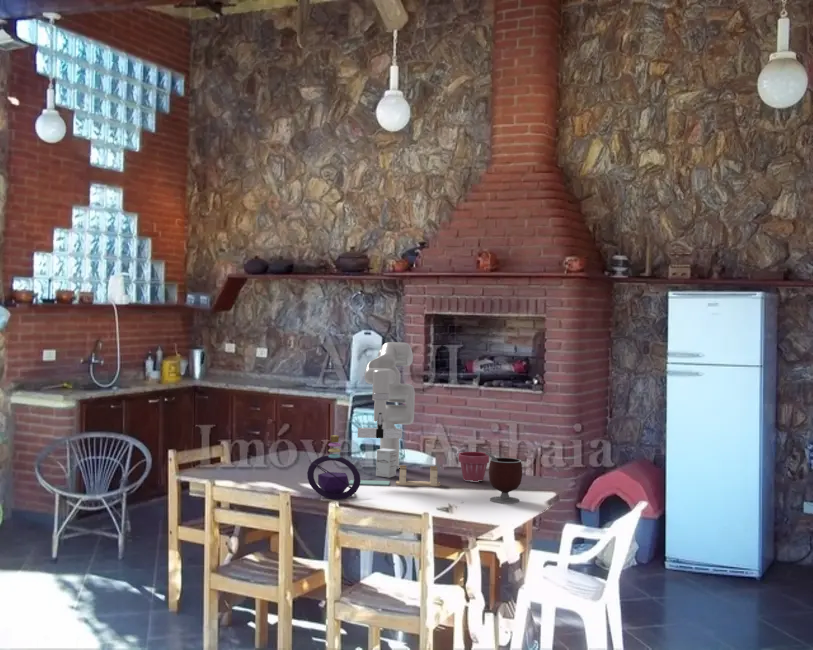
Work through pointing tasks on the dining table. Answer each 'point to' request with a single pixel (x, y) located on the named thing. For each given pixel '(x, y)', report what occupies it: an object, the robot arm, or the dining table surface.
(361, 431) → the block
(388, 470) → the supplement box
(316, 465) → the decorative bottle
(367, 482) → the mat
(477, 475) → the plant pot
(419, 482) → the rack
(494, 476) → the mate gourd
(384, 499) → the dining table surface
